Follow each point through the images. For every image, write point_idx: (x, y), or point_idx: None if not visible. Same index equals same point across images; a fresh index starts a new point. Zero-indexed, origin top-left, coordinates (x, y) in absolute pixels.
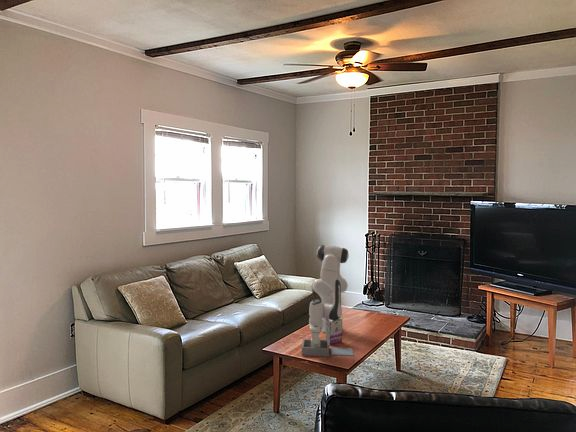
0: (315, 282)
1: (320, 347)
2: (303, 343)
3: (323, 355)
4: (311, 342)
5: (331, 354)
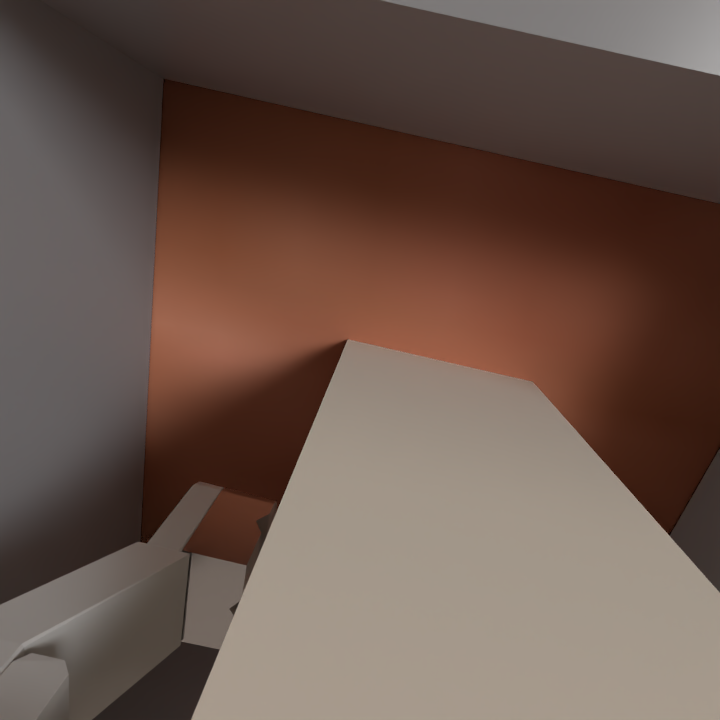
0: None
1: None
2: (600, 4)
3: None
4: (261, 569)
5: None
